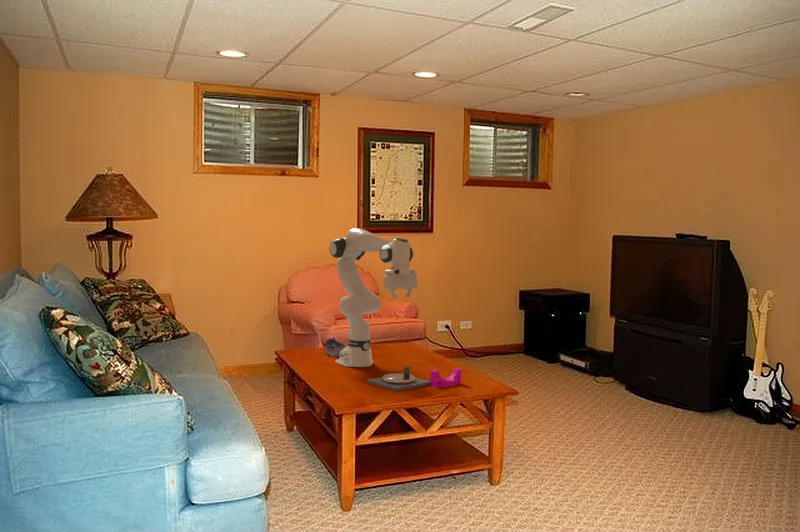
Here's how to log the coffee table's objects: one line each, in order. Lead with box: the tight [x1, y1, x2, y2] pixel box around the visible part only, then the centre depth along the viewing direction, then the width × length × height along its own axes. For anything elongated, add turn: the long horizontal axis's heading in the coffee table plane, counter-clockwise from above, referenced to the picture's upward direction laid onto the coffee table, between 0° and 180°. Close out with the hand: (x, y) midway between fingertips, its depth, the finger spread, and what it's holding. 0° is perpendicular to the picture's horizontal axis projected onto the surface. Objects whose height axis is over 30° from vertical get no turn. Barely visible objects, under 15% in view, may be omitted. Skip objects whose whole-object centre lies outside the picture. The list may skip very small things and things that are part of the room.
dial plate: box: [366, 376, 431, 392], centre depth 322 cm, size 22×22×2 cm
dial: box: [382, 365, 416, 384], centre depth 322 cm, size 16×16×8 cm
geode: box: [324, 337, 346, 358], centre depth 390 cm, size 20×12×10 cm, turn 26°
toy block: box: [429, 367, 462, 389], centre depth 321 cm, size 15×6×8 cm, turn 113°
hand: (401, 297), depth 331 cm, fingers open, 8 cm apart
